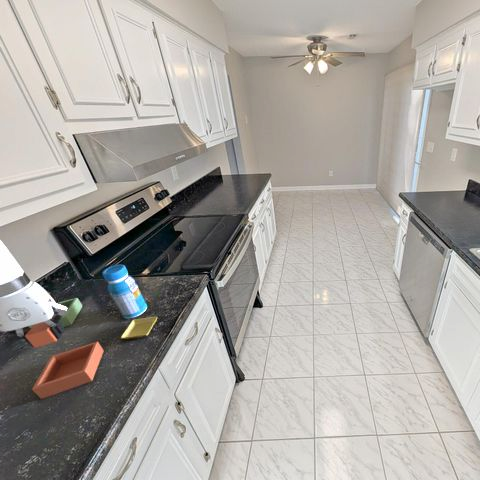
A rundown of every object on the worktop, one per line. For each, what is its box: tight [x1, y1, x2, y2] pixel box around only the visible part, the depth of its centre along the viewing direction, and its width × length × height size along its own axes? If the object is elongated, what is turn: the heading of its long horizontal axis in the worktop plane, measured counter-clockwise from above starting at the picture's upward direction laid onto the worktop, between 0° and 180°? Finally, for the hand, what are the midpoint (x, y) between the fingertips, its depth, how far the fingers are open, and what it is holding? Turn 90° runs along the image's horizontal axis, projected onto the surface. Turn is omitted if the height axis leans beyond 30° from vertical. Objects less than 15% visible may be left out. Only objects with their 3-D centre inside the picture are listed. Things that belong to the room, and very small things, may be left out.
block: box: [25, 322, 58, 349], centre depth 69 cm, size 4×4×4 cm
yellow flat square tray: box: [120, 316, 158, 340], centre depth 89 cm, size 9×9×2 cm
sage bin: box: [29, 297, 83, 328], centre depth 96 cm, size 12×12×5 cm
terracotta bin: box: [31, 341, 105, 400], centre depth 75 cm, size 12×12×5 cm
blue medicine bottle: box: [102, 263, 148, 319], centre depth 94 cm, size 8×8×20 cm
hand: (48, 338), depth 69 cm, fingers closed on block, 4 cm apart
